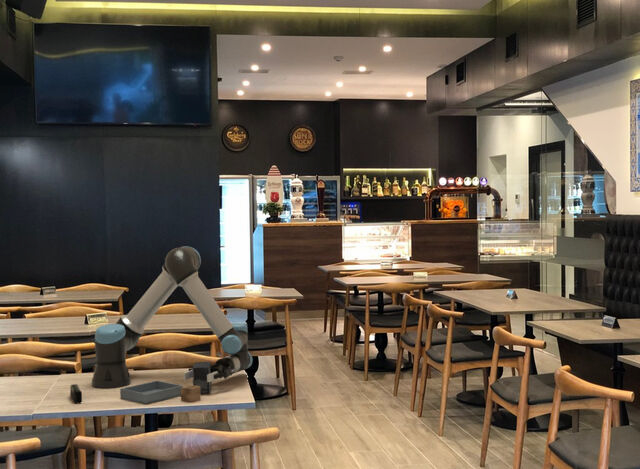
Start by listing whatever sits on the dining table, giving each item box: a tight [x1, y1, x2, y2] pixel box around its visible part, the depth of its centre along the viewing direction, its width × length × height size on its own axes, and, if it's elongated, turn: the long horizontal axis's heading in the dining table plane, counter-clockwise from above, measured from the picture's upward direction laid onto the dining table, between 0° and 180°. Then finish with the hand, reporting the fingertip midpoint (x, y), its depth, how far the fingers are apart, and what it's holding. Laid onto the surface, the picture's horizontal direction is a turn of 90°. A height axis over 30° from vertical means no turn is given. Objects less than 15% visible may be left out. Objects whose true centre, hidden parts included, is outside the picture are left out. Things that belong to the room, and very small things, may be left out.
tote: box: [119, 380, 184, 405], centre depth 285 cm, size 15×17×4 cm
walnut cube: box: [180, 384, 202, 403], centre depth 279 cm, size 5×5×5 cm
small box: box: [192, 361, 212, 395], centre depth 293 cm, size 11×6×10 cm, turn 5°
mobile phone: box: [69, 383, 83, 404], centre depth 284 cm, size 5×3×15 cm
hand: (196, 377), depth 289 cm, fingers closed on small box, 10 cm apart
